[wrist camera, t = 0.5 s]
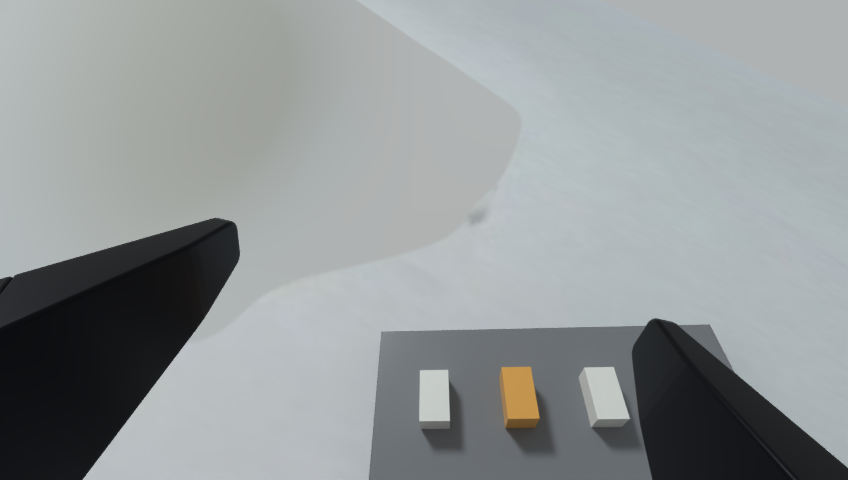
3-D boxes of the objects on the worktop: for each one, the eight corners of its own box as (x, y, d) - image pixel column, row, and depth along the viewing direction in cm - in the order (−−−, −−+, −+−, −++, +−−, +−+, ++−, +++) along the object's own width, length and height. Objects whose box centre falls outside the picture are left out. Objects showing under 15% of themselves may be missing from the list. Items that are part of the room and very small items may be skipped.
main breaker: (534, 428, 19) (539, 418, 18) (505, 428, 19) (508, 418, 18) (526, 378, 21) (530, 366, 19) (499, 378, 21) (501, 367, 20)
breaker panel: (825, 593, 16) (873, 594, 14) (365, 589, 16) (353, 589, 15) (699, 335, 23) (720, 313, 21) (384, 341, 24) (378, 321, 22)
